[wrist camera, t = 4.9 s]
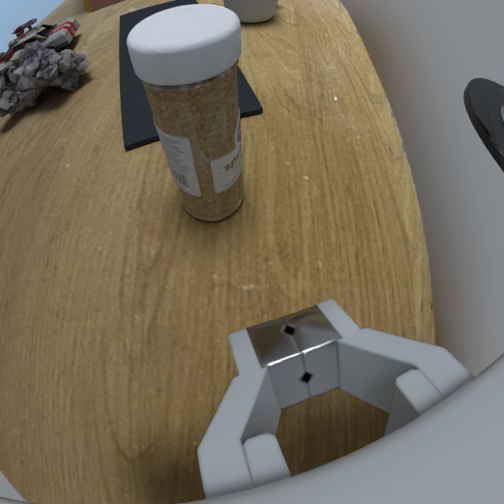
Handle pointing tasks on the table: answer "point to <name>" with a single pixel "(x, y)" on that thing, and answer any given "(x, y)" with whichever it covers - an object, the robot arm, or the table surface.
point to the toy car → (40, 38)
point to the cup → (252, 9)
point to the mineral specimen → (38, 75)
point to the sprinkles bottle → (195, 101)
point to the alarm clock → (98, 4)
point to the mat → (133, 92)
